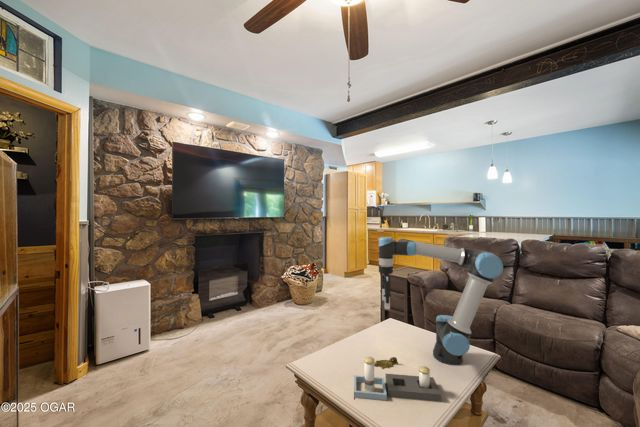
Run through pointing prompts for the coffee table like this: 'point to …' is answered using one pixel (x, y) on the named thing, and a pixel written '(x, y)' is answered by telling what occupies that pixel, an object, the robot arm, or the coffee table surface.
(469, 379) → the coffee table surface
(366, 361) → the cylinder
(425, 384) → the fuse
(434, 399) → the fuse holder
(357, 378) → the parts tray
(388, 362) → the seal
